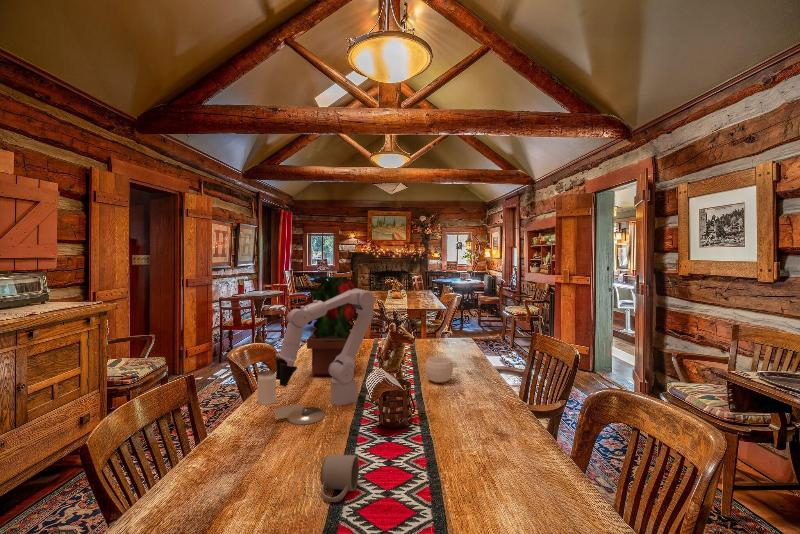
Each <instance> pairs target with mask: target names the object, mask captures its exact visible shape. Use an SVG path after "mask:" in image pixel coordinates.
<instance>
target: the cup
mask: <svg viewBox="0 0 800 534" xmlns="http://www.w3.org/2000/svg"><path fill="white" fill-rule="evenodd" d="M424 370H425V371H424V372H425V375H426V378H428V379H429V380H430V381H431V382H432V383H433V382H434V384H437V383H442V384H444V382H445V383H446V382H448V381H450V380H451V378H452V376H453V371H454V364H453V359H450V358H448V357H443V356H432V357H429V358H427V359H426V361H425V366H424Z"/></svg>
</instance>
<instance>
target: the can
mask: <svg viewBox="0 0 800 534" xmlns="http://www.w3.org/2000/svg"><path fill="white" fill-rule="evenodd" d="M276 401H277V380H276V373H275V371H274V370H262V371H260V372H259V373H258V376H257V404H258V405H263V406H264V405H265V406H266V405H271V404H274V403H276Z"/></svg>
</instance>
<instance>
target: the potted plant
mask: <svg viewBox="0 0 800 534" xmlns="http://www.w3.org/2000/svg"><path fill="white" fill-rule="evenodd" d="M352 277H353V276H334V277H332V276H321V275H319V276H318V277H313V282H314V283H315V284H319V285H318V286H317V287H316V288H314V289H311V290H310V293H309V294H310V296H312V297H308V298H307V299H306V301H305V302H303V306H306V305H309V304H311V303H313V301H314V300H317V301H319V300H320V301H323V302H325V301H327V300H329V299H332V298H334V297H336V296H338V295H340V294H342V293H345V292H346V291H348V290H353V289H355V288H357V285H356V283H355V282H354V281H353V279H350V278H352ZM356 312H357V310H356V308H355V307H354V306H353V305H352V304H350V303H346V304H344V305H341V306H338V307H335V308H333V309H330V310H328V311H327V313H326V315H324V316H322V317H319V318H317V319H315V320H312V321H310V322H308V324H307V325H309V326H310V325H311V324H312V323H313V327H314V328H316V329H314V331H313V332H312V334H311V335H310V336H309V337H308V338H307V340H306V349H307V350H309V349H310V350H311V374H315V375H316V377H329V376H330V377H331V375H330V374H329V366H330V364H331V363H332V362H333V361H334V360H335V358H336V357H337V356H338V355H339V354H341V352H342V350H343V348H344V346H345V344H346V342H347V339H348V337H349V335H350V333H351V331H352V328H353V324H352V323H350V322H351V321H352V320H353V321H355V314H356ZM313 321H315V322H313ZM331 378H332V377H331Z"/></svg>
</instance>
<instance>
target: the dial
mask: <svg viewBox="0 0 800 534" xmlns="http://www.w3.org/2000/svg"><path fill="white" fill-rule="evenodd" d="M324 417H325V412H324V410H323V409H322V408H319V407H316V406H304V404H303V403H294V404H288V405H282V406H280V405H275V406H274V419H275V420H279V419H286V420H287V422H289V423H290V424H293V425H295V426H296V425H298V426H305V425H306V426H307V425H312V424H316V423H318V422H320V421H322V420H323V419H324Z"/></svg>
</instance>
